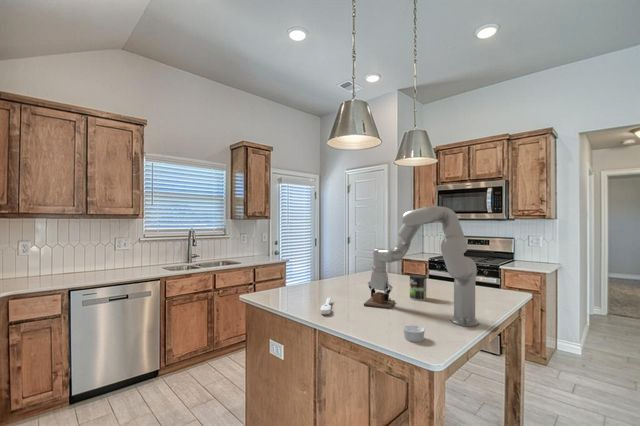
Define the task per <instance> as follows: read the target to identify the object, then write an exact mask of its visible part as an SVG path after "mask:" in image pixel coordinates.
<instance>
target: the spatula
mask: <svg viewBox="0 0 640 426" xmlns="http://www.w3.org/2000/svg"><path fill="white" fill-rule="evenodd" d="M332 299H333V298H332V297H326V301H325V303H324V304H322V305H321V307H320V308H319V312H320V314H321V315H330V314H331V313H332V305H330V303H331V300H332Z"/></svg>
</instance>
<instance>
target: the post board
mask: <svg viewBox="0 0 640 426" xmlns="http://www.w3.org/2000/svg"><path fill="white" fill-rule="evenodd" d="M377 292H378V294H380V295H381V291H377ZM395 304H396V300H395V299H393V300H392V299H391V298H390V297H389V300H388V301H387V303H383V304H378V303H374V302H373V298H371V297H370V298H369V299H368V300H366V301H365V302H364V303H363V306H364V307H370V308H377V309H386V310H391V308H392V307H393V306H394V305H395Z"/></svg>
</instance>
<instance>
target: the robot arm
mask: <svg viewBox="0 0 640 426" xmlns="http://www.w3.org/2000/svg"><path fill="white" fill-rule="evenodd" d="M401 223H402V225H401V226H400V228H399V229H398V231H397V235H398V237H399V241H398V242H397V243H396V245H395V246H394V248H390V249H386V248H384V247H382V248H374V249H373V253H372V256H373V259H372V265H373V266H372V270H373V271H371V276H370V281H368V282H367V285H368V288H369V290H370V298H373V293H376V290H378V291H383V293H385V294H384V301H388V300H389V298H390V293H391V292H392V290H393V288H394V287H393V286H392V285H391V284H389V276H388V272H387V264H392V263H394V262H400V261H401V260H402V259H403V258H404V257H405V255H406V254H407V253H408V251H409V249H410V247H411V244H412V240H413V239H414V237H415V235H416V234H417V232H418V231H419V230H420V228H421V227H422V226H423V225H428V224H438V223H440V224H442V231H443V234H444V239H443V240H442V241H441V244H440V250H441V251H440V252H441V255H442V258H443V261H444V264H445V267H446V270H447V272H448V275H450V277H451V278H453V279H454V281H453V316H451V317H450V322H451V323H452V324H455V325H458V326H462V327H477V326H478V325H480V321H479V320H478V319H476V281H477V272H478V271H477V264H476V262H475V260H473V259H472V258H471V257H468V256H465V255H464V253H466V252H467V250H468V243H467V240H466V238H465V237H466V236H465V235H464V232H463V229H462V226H461V224H460V220H459V217H458V215H457V213H456V212H455V211H454V210H452V209H451V208H450V207H446V206H439V205H436V206H435V205H429V206H423V207H420V208H417V209H412V210H411V209H410V210H407V211H405V212H404V213H403V214H402V217H401Z"/></svg>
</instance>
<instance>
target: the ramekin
mask: <svg viewBox="0 0 640 426" xmlns="http://www.w3.org/2000/svg"><path fill="white" fill-rule="evenodd" d="M402 330H403V337H404V339H405V340H406V341H408V342H413V343H419V342H422V341H424V338H425V330H426V329H425V328H424V327H423V326H421V325H414V324H409V325H405V326H403V327H402Z"/></svg>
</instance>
